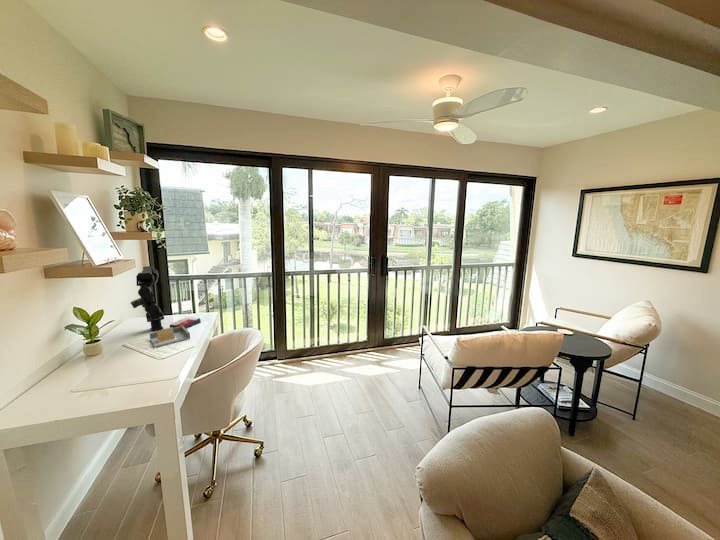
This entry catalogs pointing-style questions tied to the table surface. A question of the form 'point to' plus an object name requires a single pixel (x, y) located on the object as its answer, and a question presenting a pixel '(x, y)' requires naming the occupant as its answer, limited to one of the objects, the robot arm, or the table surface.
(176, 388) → the table surface
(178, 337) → the arena
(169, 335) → the bracket
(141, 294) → the robot arm
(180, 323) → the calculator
